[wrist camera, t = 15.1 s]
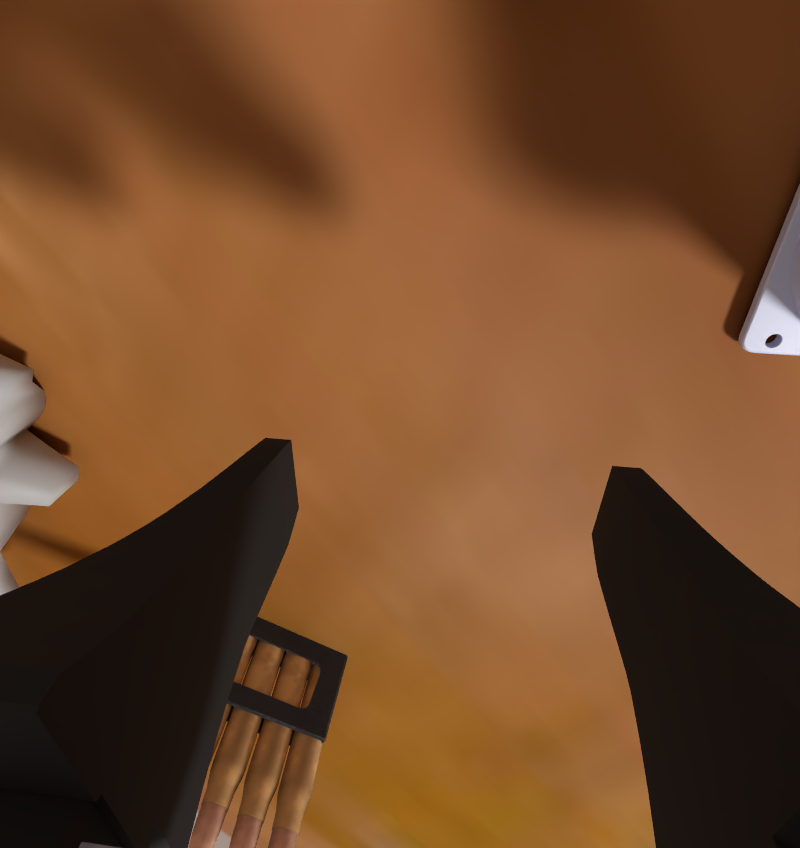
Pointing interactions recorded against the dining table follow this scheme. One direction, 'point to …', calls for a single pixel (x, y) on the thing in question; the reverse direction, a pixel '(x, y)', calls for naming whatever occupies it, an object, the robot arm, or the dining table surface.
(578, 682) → the dining table surface
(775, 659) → the robot arm
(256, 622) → the ammunition clip
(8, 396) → the bunny figurine
